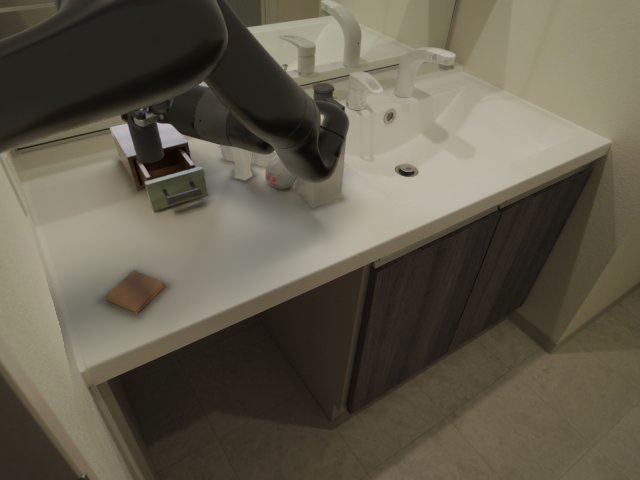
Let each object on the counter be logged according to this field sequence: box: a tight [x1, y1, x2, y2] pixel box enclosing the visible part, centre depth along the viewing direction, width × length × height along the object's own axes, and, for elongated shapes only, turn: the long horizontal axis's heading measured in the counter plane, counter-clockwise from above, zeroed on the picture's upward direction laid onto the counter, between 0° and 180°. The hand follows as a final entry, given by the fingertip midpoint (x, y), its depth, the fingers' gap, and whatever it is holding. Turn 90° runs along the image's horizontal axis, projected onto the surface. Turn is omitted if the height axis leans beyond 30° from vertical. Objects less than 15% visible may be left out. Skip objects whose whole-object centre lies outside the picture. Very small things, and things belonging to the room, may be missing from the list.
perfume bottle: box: [231, 147, 254, 181], centre depth 83 cm, size 5×4×15 cm
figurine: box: [264, 154, 296, 190], centre depth 83 cm, size 7×7×8 cm
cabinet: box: [109, 122, 192, 192], centre depth 86 cm, size 14×12×8 cm
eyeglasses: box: [217, 145, 277, 168], centre depth 93 cm, size 14×8×4 cm, turn 77°
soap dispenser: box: [295, 82, 347, 209], centre depth 75 cm, size 6×9×22 cm
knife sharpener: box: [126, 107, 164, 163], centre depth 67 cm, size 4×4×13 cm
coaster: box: [104, 270, 166, 315], centre depth 63 cm, size 6×6×1 cm
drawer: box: [133, 148, 208, 212], centre depth 79 cm, size 17×10×6 cm, turn 33°
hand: (121, 92), depth 65 cm, fingers closed on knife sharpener, 4 cm apart
